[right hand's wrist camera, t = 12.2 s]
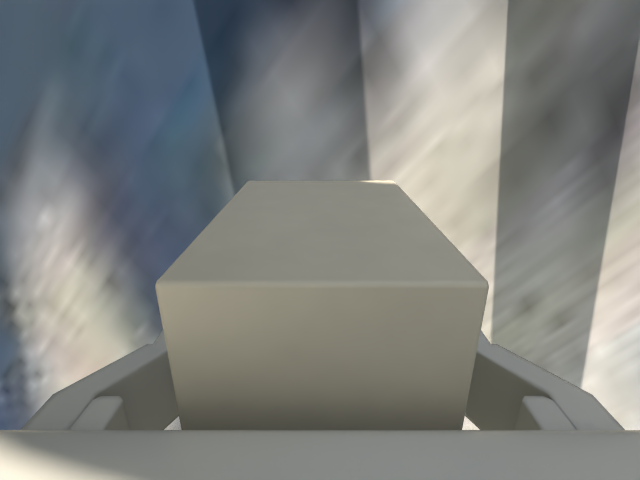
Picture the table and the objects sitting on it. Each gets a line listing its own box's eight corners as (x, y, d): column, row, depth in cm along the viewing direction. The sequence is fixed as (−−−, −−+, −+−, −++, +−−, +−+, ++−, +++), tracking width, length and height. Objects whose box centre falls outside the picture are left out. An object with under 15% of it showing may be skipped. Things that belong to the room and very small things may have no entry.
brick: (394, 179, 12) (492, 283, 5) (382, 349, 15) (437, 570, 8) (246, 180, 12) (151, 283, 5) (259, 349, 15) (205, 570, 8)
